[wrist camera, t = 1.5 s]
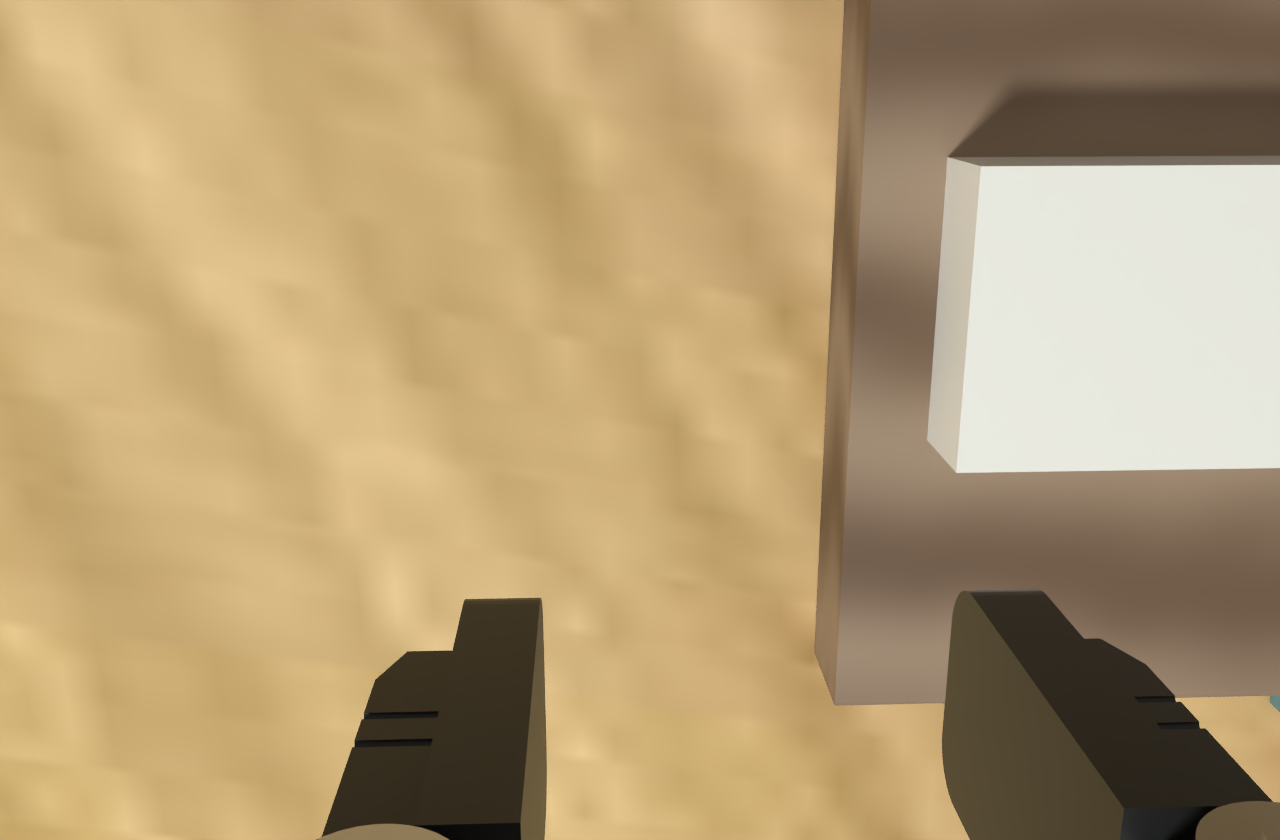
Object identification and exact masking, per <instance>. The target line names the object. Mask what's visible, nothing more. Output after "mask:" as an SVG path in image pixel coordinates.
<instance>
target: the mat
mask: <svg viewBox="0 0 1280 840" xmlns="http://www.w3.org/2000/svg"><path fill="white" fill-rule="evenodd" d="M1270 703H1271V704H1272V705H1273V706H1274V707H1275V708H1276V709H1277V710H1279V711H1280V695H1273V696H1271V699H1270Z"/></svg>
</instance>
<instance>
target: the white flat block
mask: <svg viewBox="0 0 1280 840" xmlns="http://www.w3.org/2000/svg"><path fill="white" fill-rule="evenodd" d="M927 441H928V442H929V443H930V444H931V445H932V446H933V447H934V448H935V450H936V451H937V452H938V453H939V454H940V455H941V456H942V457H943V459H944V460H945V461H946V462H947V463H948V464H949V465H950V466H951V468H952V469H953V470H954V471H955V472H956V473H987V472H1053V471H1120V470H1187V469H1253V468H1280V156H1086V157H947V171H946V185H945V199H944V212H943V226H942V240H941V254H940V268H939V282H938V296H937V309H936V323H935V337H934V351H933V365H932V379H931V393H930V406H929V420H928V434H927Z"/></svg>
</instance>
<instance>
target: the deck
mask: <svg viewBox="0 0 1280 840" xmlns="http://www.w3.org/2000/svg"><path fill="white" fill-rule="evenodd" d="M1086 156H1280V0H845V1H844V23H843V44H842V66H841V88H840V110H839V131H838V153H837V175H836V197H835V218H834V240H833V262H832V284H831V305H830V327H829V349H828V371H827V392H826V414H825V436H824V458H823V479H822V501H821V523H820V545H819V566H818V588H817V610H816V632H815V655H816V658H817V660H818V663H819V666H820V668H821V671H822V673H823V676H824V679H825V681H826V684H827V687H828V689H829V692H830V694H831V697H832V700H833V702H834V705H878V704H922V703H945V697H946V685H947V673H948V660H949V648H950V636H951V624H952V615H953V609H954V605H955V601H956V599H957V597H958V595H959V594H960V592H962V591H977V590H1030V589H1039V590H1041V591H1043V592H1044V593H1045V594H1046V595H1047V596H1048V597H1049V598H1050V599H1051V601H1052V602H1053V603H1054V604H1055V605H1056V606H1057V608H1058V609H1059V610H1060V611H1061V612H1062V613H1063V615H1064V616H1065V617H1066V618H1067V619H1068V620H1069V622H1070V623H1071V624H1072V625H1073V626H1074V627H1075V629H1076V630H1077V631H1078V632H1079V633H1080V634H1081V636H1082V637H1083V638H1084V639H1090V638H1100V639H1102V640H1104V641H1106V642H1108V643H1109V644H1111V645H1113V646H1115V647H1116V648H1118V649H1120V650H1122V651H1123V652H1125V653H1127V654H1129V655H1130V656H1132V657H1134V658H1136V659H1137V660H1139V661H1141V662H1143V663H1145V664H1146V665H1147V666H1148V667H1149V668H1150V669H1151V670H1152V671H1153V672H1154V673H1155V674H1156V676H1157V677H1158V678H1159V679H1160V680H1161V681H1162V682H1163V683H1164V684H1165V685H1166V686H1167V688H1168V689H1169V690H1170V691H1171V692H1172V693H1173V694H1174V695H1175V698H1186V697H1229V696H1273V695H1280V468H1253V469H1187V470H1120V471H1053V472H987V473H956V472H955V471H954V470H953V469H952V468H951V466H950V465H949V464H948V463H947V462H946V461H945V460H944V459H943V457H942V456H941V455H940V454H939V453H938V452H937V451H936V450H935V448H934V447H933V446H932V445H931V444H930V443H929V442H928V441H927V434H928V420H929V406H930V393H931V379H932V365H933V351H934V337H935V323H936V309H937V296H938V282H939V268H940V254H941V240H942V226H943V212H944V199H945V185H946V171H947V157H1086Z"/></svg>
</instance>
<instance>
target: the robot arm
mask: <svg viewBox="0 0 1280 840" xmlns="http://www.w3.org/2000/svg"><path fill="white" fill-rule="evenodd" d="M942 754H943V766H944V773H945V779H946V784H947V788H948V792H949V795H950V798H951V801H952V803H953V806H954V808H955V810H956V812H957V814H958V816H959V818H960V820H961V822H962V824H963V826H964V828H965V830H966V832H967V834H968V836H969V838H970V840H1280V803H1279V802H1273V801H1272V800H1271V799H1270V798H1269V797H1268V796H1267V795H1266V794H1265V793H1264V792H1263V791H1262V790H1261V788H1260V787H1259V786H1258V785H1257V784H1256V783H1255V782H1254V781H1253V780H1252V779H1251V778H1250V777H1249V775H1248V774H1247V773H1246V772H1245V771H1244V770H1243V769H1242V768H1241V767H1240V766H1239V765H1238V763H1237V762H1236V761H1235V760H1234V759H1233V758H1232V757H1231V756H1230V755H1229V754H1228V753H1227V752H1226V750H1225V749H1224V748H1223V747H1222V746H1221V745H1220V744H1219V743H1218V742H1217V741H1216V740H1215V739H1214V737H1213V736H1212V735H1211V734H1210V733H1209V732H1208V731H1207V730H1206V729H1200V727H1199V721H1198V720H1197V719H1196V718H1195V717H1194V716H1193V715H1192V714H1191V712H1190V711H1189V710H1188V709H1187V708H1186V707H1185V706H1184V705H1183V704H1182V703H1181V702H1176V701H1175V695H1174V694H1173V693H1172V692H1171V691H1170V690H1169V689H1168V688H1167V686H1166V685H1165V684H1164V683H1163V682H1162V681H1161V680H1160V679H1159V678H1158V677H1157V676H1156V674H1155V673H1154V672H1153V671H1152V670H1151V669H1150V668H1149V667H1148V666H1147V665H1146V664H1145V663H1143V662H1141V661H1139V660H1137V659H1136V658H1134V657H1132V656H1130V655H1129V654H1127V653H1125V652H1123V651H1122V650H1120V649H1118V648H1116V647H1115V646H1113V645H1111V644H1109V643H1108V642H1106V641H1104V640H1102V639H1100V638H1090V639H1084V638H1083V637H1082V636H1081V634H1080V633H1079V632H1078V631H1077V630H1076V629H1075V627H1074V626H1073V625H1072V624H1071V623H1070V622H1069V620H1068V619H1067V618H1066V617H1065V616H1064V615H1063V613H1062V612H1061V611H1060V610H1059V609H1058V608H1057V606H1056V605H1055V604H1054V603H1053V602H1052V601H1051V599H1050V598H1049V597H1048V596H1047V595H1046V594H1045V593H1044V592H1043V591H1041V590H1039V589H1030V590H977V591H962V592H960V594H959V595H958V597H957V599H956V601H955V605H954V609H953V615H952V624H951V636H950V648H949V660H948V673H947V685H946V697H945V709H944V721H943V734H942ZM546 783H547V760H546V715H545V677H544V640H543V611H542V600H541V598H509V599H465V601H464V604H463V608H462V612H461V616H460V621H459V625H458V630H457V634H456V638H455V643H454V647H453V651H412V652H407V653H405V654H404V655H403V656H402V657H401V658H400V659H399V660H397V661H396V662H395V663H394V664H393V665H392V666H391V667H390V668H388V669H387V670H386V671H385V672H384V673H383V674H382V675H380V676H379V677H378V678H377V679H376V680H375V682H374V685H373V688H372V691H371V694H370V697H369V700H368V703H367V706H366V709H365V712H364V719H362V721H361V723H360V726H359V729H358V732H357V735H356V738H355V747H353V748H352V750H351V753H350V756H349V759H348V761H347V764H346V767H345V770H344V773H343V776H342V779H341V782H340V785H339V788H338V791H337V794H336V797H335V800H334V802H333V805H332V808H331V811H330V814H329V817H328V820H327V823H326V826H325V829H324V832H323V835H322V837H321V838H319V839H317V840H544V836H545V818H546Z"/></svg>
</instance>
